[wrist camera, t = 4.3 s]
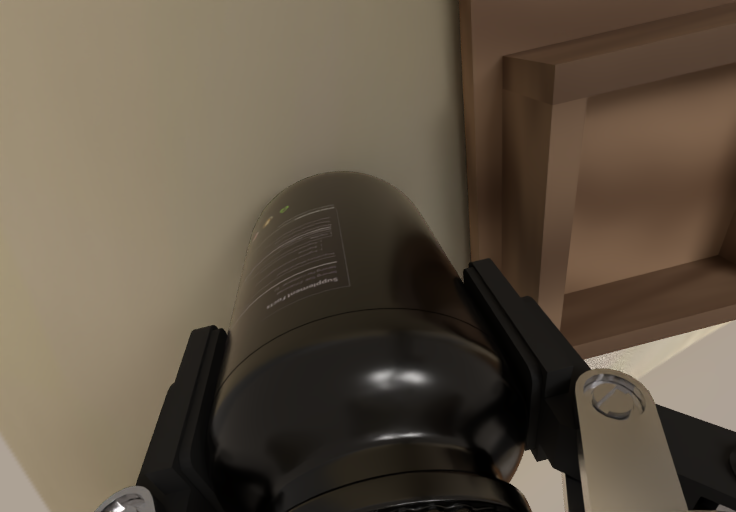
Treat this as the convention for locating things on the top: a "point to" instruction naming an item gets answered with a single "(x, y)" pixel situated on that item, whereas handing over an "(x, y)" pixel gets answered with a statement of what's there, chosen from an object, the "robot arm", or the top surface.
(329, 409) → the supplement bottle
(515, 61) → the bottle cradle
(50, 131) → the top surface
